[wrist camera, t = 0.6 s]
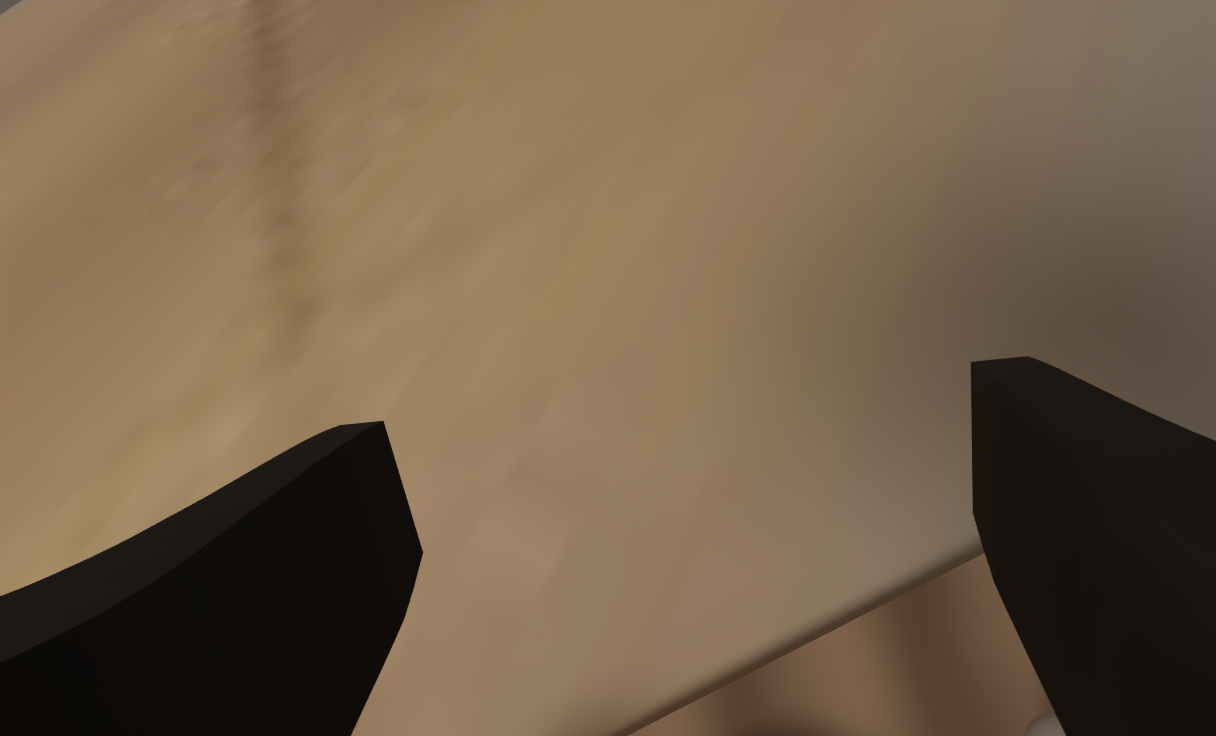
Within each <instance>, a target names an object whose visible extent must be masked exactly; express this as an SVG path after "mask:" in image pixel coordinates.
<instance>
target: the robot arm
mask: <svg viewBox="0 0 1216 736" xmlns="http://www.w3.org/2000/svg"><path fill="white" fill-rule="evenodd" d="M971 408H972V485H973V515H974V518H975V522H976V525H977V529H978V532H979V535H980V539H981V542H982V546H983V549H984V552H985V556H986V559H987V562H988V565H989V568H990V571H991V574H992V578H993V581H994V584H995V586H996V588H997V590H998V593H999V595H1000V597H1001V599H1002V601H1003V604H1004V606H1005V608H1006V610H1007V612H1008V614H1009V617H1010V619H1011V621H1012V623H1013V625H1014V627H1015V629H1016V632H1017V634H1018V636H1019V638H1020V640H1021V642H1022V644H1023V646H1024V649H1025V651H1026V653H1027V655H1028V657H1029V659H1030V661H1031V663H1032V665H1033V668H1034V670H1035V672H1036V674H1037V676H1038V678H1039V680H1040V682H1041V684H1042V686H1043V689H1044V691H1045V693H1046V695H1047V697H1048V699H1049V701H1050V703H1051V705H1052V708H1053V710H1054V712H1055V714H1056V716H1057V718H1058V720H1059V722H1060V724H1061V727H1062V729H1063V731H1064V733H1065V735H1066V736H1216V441H1215V440H1212V439H1210V438H1207V437H1205V436H1202V435H1200V434H1197V433H1195V432H1192V431H1190V430H1188V429H1186V428H1183V427H1181V426H1179V425H1176V424H1174V423H1172V422H1170V421H1167V420H1165V419H1163V418H1161V417H1158V416H1156V415H1154V414H1152V413H1150V412H1147V411H1145V410H1143V409H1141V408H1139V407H1137V406H1135V405H1133V404H1130V403H1128V402H1126V401H1124V400H1122V399H1120V398H1118V397H1116V396H1114V395H1112V394H1110V393H1107V392H1105V391H1103V390H1101V389H1099V388H1097V387H1095V386H1093V385H1091V384H1089V383H1087V382H1085V381H1083V380H1081V379H1079V378H1077V377H1075V376H1073V375H1071V374H1069V373H1066V372H1064V371H1062V370H1060V369H1058V368H1056V367H1054V366H1051V365H1049V364H1047V363H1045V362H1042V361H1040V360H1037V359H1034V358H1031V357H1028V356H1026V357H1016V358H1006V359H996V360H986V361H976V362H971ZM422 555H423V551H422V547H421V544H420V541H419V537H418V534H417V531H416V527H415V524H414V521H413V517H412V514H411V511H410V507H409V504H408V501H407V498H406V494H405V491H404V488H403V484H402V481H401V478H400V474H399V471H398V468H397V464H396V461H395V458H394V454H393V451H392V448H391V444H390V441H389V438H388V434H387V431H386V428H385V425H384V421H377V422H367V423H357V424H347V425H339V426H336V427H334V428H331V429H329V430H326V431H324V432H321V433H319V434H317V435H315V436H313V437H311V438H309V439H307V440H305V441H303V442H301V443H299V444H297V445H296V446H294V447H292V448H290V449H288V450H287V451H285V452H283V453H281V454H279V455H278V456H276V457H274V458H272V459H271V460H269V461H267V462H265V463H264V464H262V465H260V466H258V467H257V468H255V469H253V470H252V471H250V472H248V473H246V474H245V475H243V476H241V477H239V478H238V479H236V480H234V481H233V482H231V483H229V484H227V485H226V486H224V487H222V488H220V489H219V490H217V491H215V492H214V493H212V494H210V495H208V496H207V497H205V498H203V499H201V500H199V501H197V502H196V503H194V504H192V505H190V506H188V507H186V508H185V509H183V510H181V511H179V512H177V513H175V514H174V515H172V516H170V517H168V518H166V519H164V520H163V521H161V522H159V523H157V524H155V525H153V526H151V527H150V528H148V529H146V530H144V531H142V532H140V533H139V534H137V535H135V536H133V537H131V538H129V539H127V540H125V541H123V542H121V543H119V544H117V545H115V546H113V547H111V548H109V549H107V550H105V551H103V552H101V553H99V554H97V555H95V556H93V557H91V558H88V559H86V560H84V561H82V562H80V563H77V564H75V565H73V566H71V567H69V568H66V569H64V570H62V571H60V572H57V573H55V574H53V575H51V576H49V577H46V578H44V579H42V580H40V581H37V582H35V583H32V584H30V585H28V586H25V587H23V588H20V589H18V590H15V591H13V592H10V593H7V594H5V595H2V596H0V736H351V734H352V732H353V730H354V728H355V726H356V723H357V721H358V719H359V717H360V715H361V713H362V711H363V708H364V706H365V704H366V702H367V700H368V698H369V696H370V693H371V691H372V689H373V687H374V685H375V683H376V681H377V678H378V676H379V674H380V672H381V670H382V668H383V665H384V663H385V661H386V659H387V657H388V654H389V652H390V650H391V648H392V645H393V643H394V641H395V639H396V637H397V634H398V632H399V630H400V627H401V625H402V623H403V620H404V618H405V615H406V612H407V608H408V605H409V602H410V599H411V595H412V592H413V589H414V585H415V581H416V578H417V574H418V570H419V566H420V562H421V559H422Z"/></svg>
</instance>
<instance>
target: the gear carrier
mask: <svg viewBox="0 0 1216 736" xmlns="http://www.w3.org/2000/svg"><path fill="white" fill-rule="evenodd" d="M628 736H1066V735H1065V733H1064V731H1063V729H1062V727H1061V724H1060V722H1059V720H1058V718H1057V716H1056V714H1055V712H1054V710H1053V708H1052V705H1051V703H1050V701H1049V699H1048V697H1047V695H1046V693H1045V691H1044V689H1043V686H1042V684H1041V682H1040V680H1039V678H1038V676H1037V674H1036V672H1035V670H1034V668H1033V665H1032V663H1031V661H1030V659H1029V657H1028V655H1027V653H1026V651H1025V649H1024V646H1023V644H1022V642H1021V640H1020V638H1019V636H1018V634H1017V632H1016V629H1015V627H1014V625H1013V623H1012V621H1011V619H1010V617H1009V614H1008V612H1007V610H1006V608H1005V606H1004V604H1003V601H1002V599H1001V597H1000V595H999V593H998V590H997V588H996V586H995V584H994V581H993V578H992V574H991V571H990V568H989V565H988V562H987V559H986V556H985V553H983V554H981V555H980V556H978V557H976V558H974V559H972V560H970V561H968V562H966V563H964V564H962V565H960V566H958V567H956V568H954V569H952V570H950V571H948V572H946V573H944V574H942V575H940V576H939V577H937V578H935V579H933V580H931V581H929V582H927V583H925V584H923V585H921V586H919V587H917V588H915V589H913V590H911V591H909V592H907V593H905V594H903V595H901V596H899V597H897V598H896V599H894V600H892V601H890V602H888V603H886V604H884V605H882V606H880V607H878V608H876V609H874V610H872V611H870V612H868V613H866V614H864V615H862V616H860V617H858V618H856V619H855V620H853V621H851V622H849V623H847V624H845V625H843V626H841V627H839V628H837V629H835V630H833V631H831V632H829V633H827V634H825V635H823V636H821V637H819V638H817V639H815V640H813V641H812V642H810V643H808V644H806V645H804V646H802V647H800V648H798V649H796V650H794V651H792V652H790V653H788V654H786V655H784V656H782V657H780V658H778V659H776V660H774V661H772V662H771V663H769V664H767V665H765V666H763V667H761V668H759V669H757V670H755V671H753V672H751V673H749V674H747V675H745V676H743V677H741V678H739V679H737V680H735V681H733V682H731V683H729V684H728V685H726V686H724V687H722V688H720V689H718V690H716V691H714V692H712V693H710V694H708V695H706V696H704V697H702V698H700V699H698V700H696V701H694V702H692V703H690V704H688V705H686V706H685V707H683V708H681V709H679V710H677V711H675V712H673V713H671V714H669V715H667V716H665V717H663V718H661V719H659V720H657V721H655V722H653V723H651V724H649V725H647V726H645V727H644V728H642V729H640V730H638V731H636V732H634V733H632V734H630V735H628Z"/></svg>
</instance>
